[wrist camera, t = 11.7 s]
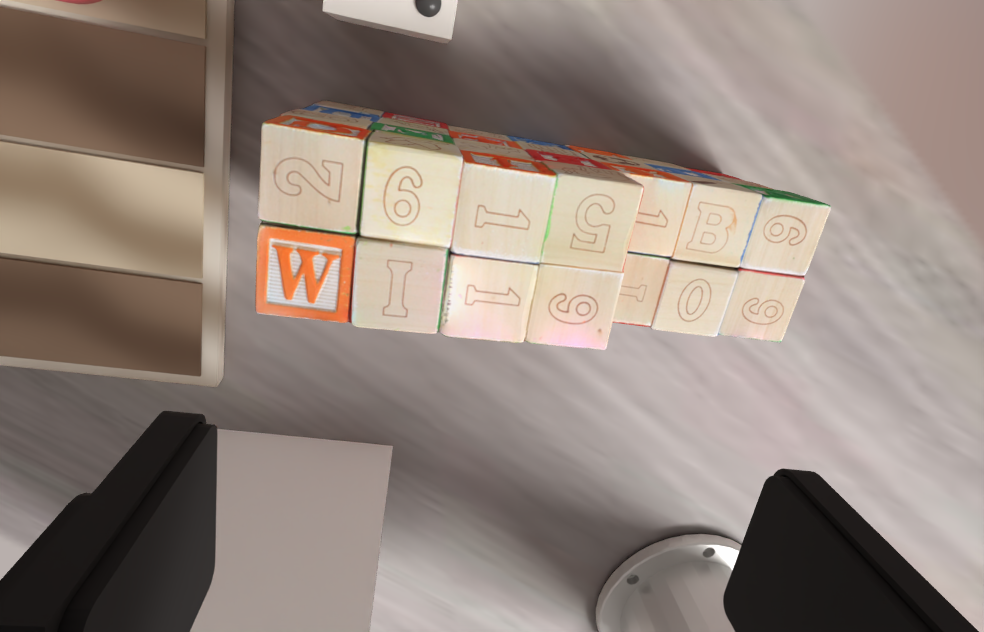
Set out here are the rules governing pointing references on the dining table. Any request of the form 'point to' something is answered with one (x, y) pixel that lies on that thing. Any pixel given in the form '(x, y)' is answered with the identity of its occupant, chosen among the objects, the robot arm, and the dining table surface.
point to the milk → (295, 534)
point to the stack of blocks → (515, 235)
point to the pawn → (80, 1)
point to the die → (399, 16)
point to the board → (115, 187)
